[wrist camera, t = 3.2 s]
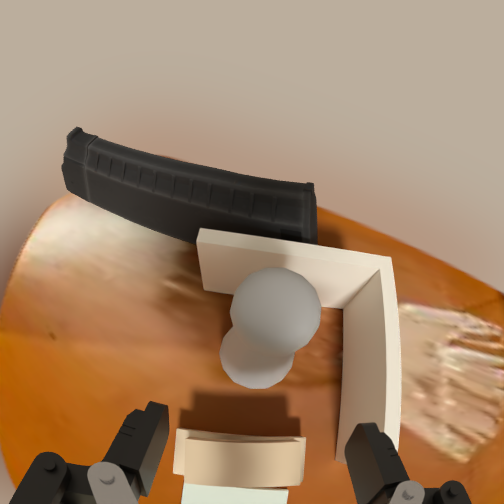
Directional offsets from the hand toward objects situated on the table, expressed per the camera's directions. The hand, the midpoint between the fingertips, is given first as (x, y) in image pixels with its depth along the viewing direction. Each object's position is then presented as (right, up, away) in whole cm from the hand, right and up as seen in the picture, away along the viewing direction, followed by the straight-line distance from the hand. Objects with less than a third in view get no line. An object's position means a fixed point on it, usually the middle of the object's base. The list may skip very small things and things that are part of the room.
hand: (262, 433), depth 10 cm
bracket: (+2, -3, +13) cm, 13 cm away
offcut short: (-1, -8, +7) cm, 11 cm away
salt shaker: (0, -2, +13) cm, 14 cm away
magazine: (-9, +10, +21) cm, 25 cm away
